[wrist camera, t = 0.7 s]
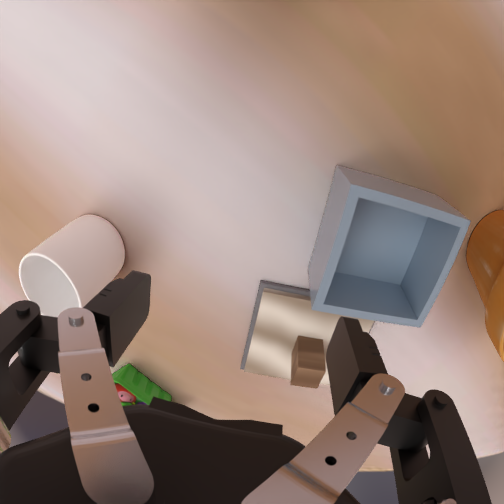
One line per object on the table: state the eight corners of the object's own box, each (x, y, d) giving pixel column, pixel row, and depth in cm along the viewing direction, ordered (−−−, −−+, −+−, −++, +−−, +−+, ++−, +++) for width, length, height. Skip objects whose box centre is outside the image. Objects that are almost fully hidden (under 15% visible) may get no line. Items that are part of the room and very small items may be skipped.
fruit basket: (182, 398, 45) (163, 456, 35) (152, 409, 48) (132, 460, 38) (127, 354, 42) (96, 412, 32) (102, 371, 45) (74, 422, 35)
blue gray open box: (336, 164, 27) (351, 184, 21) (437, 195, 27) (470, 220, 20) (307, 268, 32) (311, 309, 26) (400, 287, 32) (420, 327, 25)
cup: (134, 231, 32) (85, 280, 23) (114, 306, 38) (77, 359, 29) (76, 201, 31) (18, 238, 22) (65, 278, 37) (21, 322, 28)
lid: (263, 287, 33) (259, 322, 28) (376, 308, 33) (388, 343, 28) (244, 367, 39) (238, 401, 34) (338, 381, 39) (342, 415, 34)
